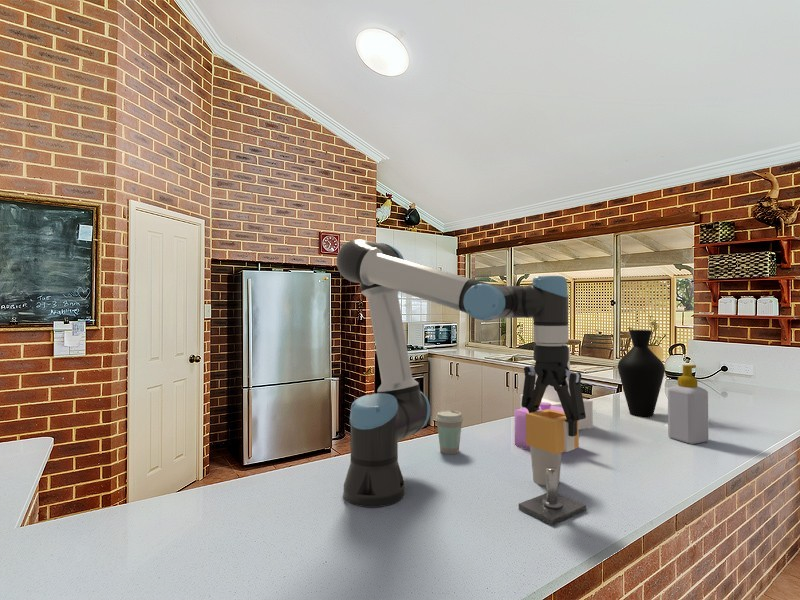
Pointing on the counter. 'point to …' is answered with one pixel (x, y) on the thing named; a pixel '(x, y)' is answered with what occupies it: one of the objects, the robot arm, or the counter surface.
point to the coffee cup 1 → (449, 431)
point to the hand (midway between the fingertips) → (552, 444)
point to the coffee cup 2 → (543, 464)
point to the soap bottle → (688, 409)
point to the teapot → (521, 423)
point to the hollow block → (547, 431)
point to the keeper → (552, 503)
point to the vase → (641, 375)
